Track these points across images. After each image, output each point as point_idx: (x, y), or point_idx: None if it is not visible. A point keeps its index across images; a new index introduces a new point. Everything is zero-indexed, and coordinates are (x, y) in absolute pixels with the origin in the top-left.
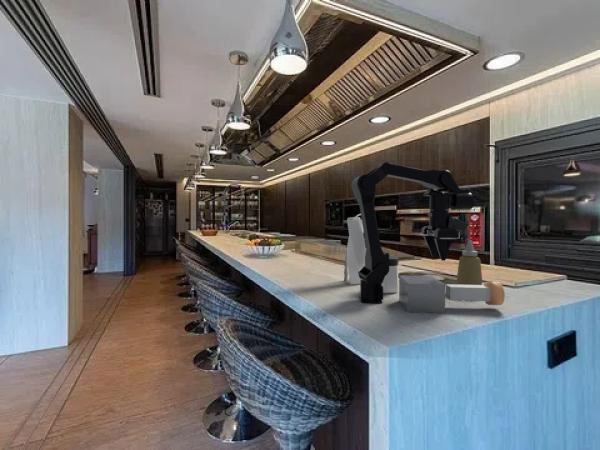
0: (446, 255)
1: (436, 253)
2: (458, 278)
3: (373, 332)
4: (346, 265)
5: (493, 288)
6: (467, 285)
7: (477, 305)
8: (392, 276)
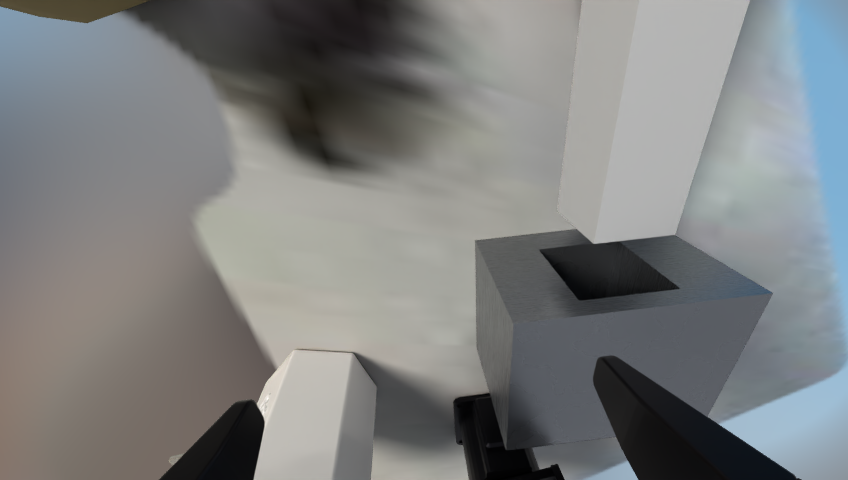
0: (682, 404)
1: (232, 435)
2: (74, 10)
3: (760, 394)
4: None
5: None
6: (646, 105)
7: (530, 13)
8: (355, 437)
